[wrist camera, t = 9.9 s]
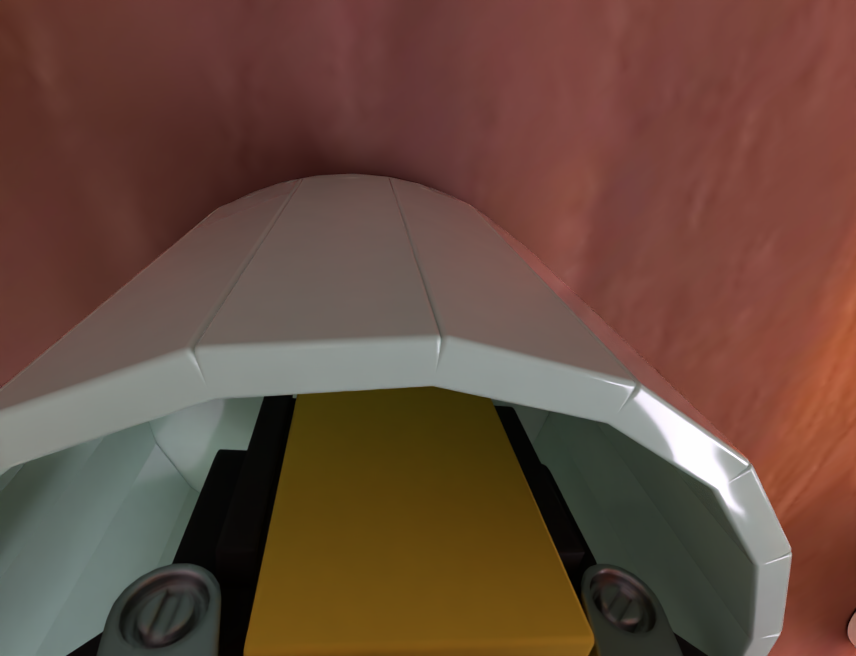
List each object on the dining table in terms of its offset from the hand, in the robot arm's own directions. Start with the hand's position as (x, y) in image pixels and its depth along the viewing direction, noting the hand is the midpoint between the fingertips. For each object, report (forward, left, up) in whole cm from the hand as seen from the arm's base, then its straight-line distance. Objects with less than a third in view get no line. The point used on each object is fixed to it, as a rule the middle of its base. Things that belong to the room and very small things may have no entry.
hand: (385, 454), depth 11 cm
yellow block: (0, 0, -1) cm, 1 cm away
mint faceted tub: (0, -1, -3) cm, 3 cm away
